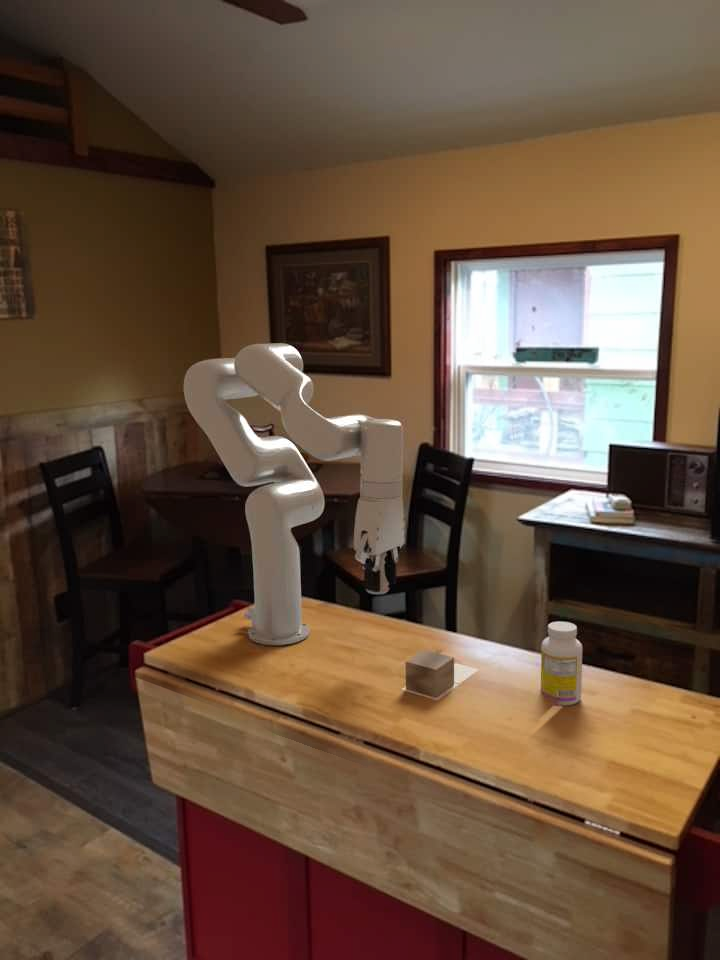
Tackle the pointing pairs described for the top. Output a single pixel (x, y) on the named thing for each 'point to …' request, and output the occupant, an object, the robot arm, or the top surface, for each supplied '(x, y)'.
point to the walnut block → (429, 673)
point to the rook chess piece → (381, 576)
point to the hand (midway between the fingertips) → (380, 585)
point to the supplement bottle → (561, 664)
